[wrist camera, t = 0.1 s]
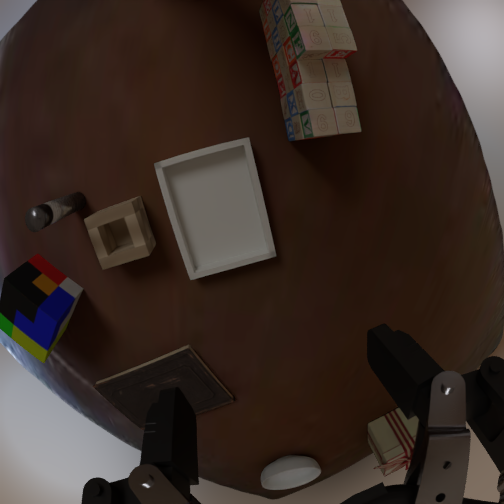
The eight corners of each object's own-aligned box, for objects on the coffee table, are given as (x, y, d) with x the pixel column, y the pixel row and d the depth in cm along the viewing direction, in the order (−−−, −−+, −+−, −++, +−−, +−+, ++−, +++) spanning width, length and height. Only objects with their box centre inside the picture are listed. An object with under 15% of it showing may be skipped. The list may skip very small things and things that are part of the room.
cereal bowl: (245, 466, 60) (249, 486, 54) (292, 442, 58) (298, 463, 52) (282, 476, 66) (286, 493, 59) (324, 453, 64) (332, 471, 57)
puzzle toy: (83, 288, 38) (57, 321, 28) (66, 328, 39) (43, 363, 30) (38, 253, 34) (4, 278, 25) (24, 296, 36) (-4, 325, 27)
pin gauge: (68, 195, 33) (22, 212, 22) (82, 189, 33) (38, 204, 22) (74, 212, 34) (29, 235, 22) (88, 206, 34) (45, 227, 23)
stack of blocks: (329, 136, 36) (376, 131, 24) (287, 142, 35) (322, 136, 24) (298, 9, 28) (329, -31, 17) (257, 10, 28) (276, -35, 17)
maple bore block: (97, 211, 34) (83, 219, 30) (141, 195, 35) (131, 201, 30) (113, 256, 37) (102, 269, 32) (156, 243, 37) (149, 255, 33)
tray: (157, 163, 34) (153, 163, 31) (246, 138, 34) (248, 137, 32) (191, 272, 39) (190, 280, 37) (272, 250, 40) (276, 256, 38)
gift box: (353, 429, 61) (377, 475, 45) (409, 397, 61) (439, 437, 45) (360, 448, 67) (379, 487, 51) (408, 421, 67) (432, 456, 51)
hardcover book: (95, 378, 44) (92, 386, 42) (189, 340, 44) (188, 348, 42) (144, 423, 50) (143, 431, 48) (234, 394, 49) (235, 402, 47)
